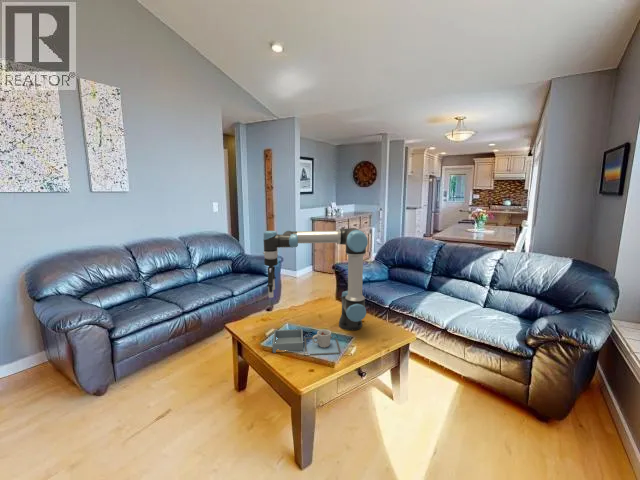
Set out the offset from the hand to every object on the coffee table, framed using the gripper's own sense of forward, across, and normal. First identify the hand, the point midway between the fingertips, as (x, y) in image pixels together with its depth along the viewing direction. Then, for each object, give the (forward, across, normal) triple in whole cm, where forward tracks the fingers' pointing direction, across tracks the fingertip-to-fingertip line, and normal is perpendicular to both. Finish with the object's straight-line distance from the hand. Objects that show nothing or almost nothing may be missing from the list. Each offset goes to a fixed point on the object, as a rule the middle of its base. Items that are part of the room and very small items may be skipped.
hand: (271, 293), depth 181 cm
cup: (+28, +12, +28) cm, 42 cm away
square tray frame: (+28, +12, +28) cm, 41 cm away
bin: (+28, +9, +9) cm, 31 cm away
